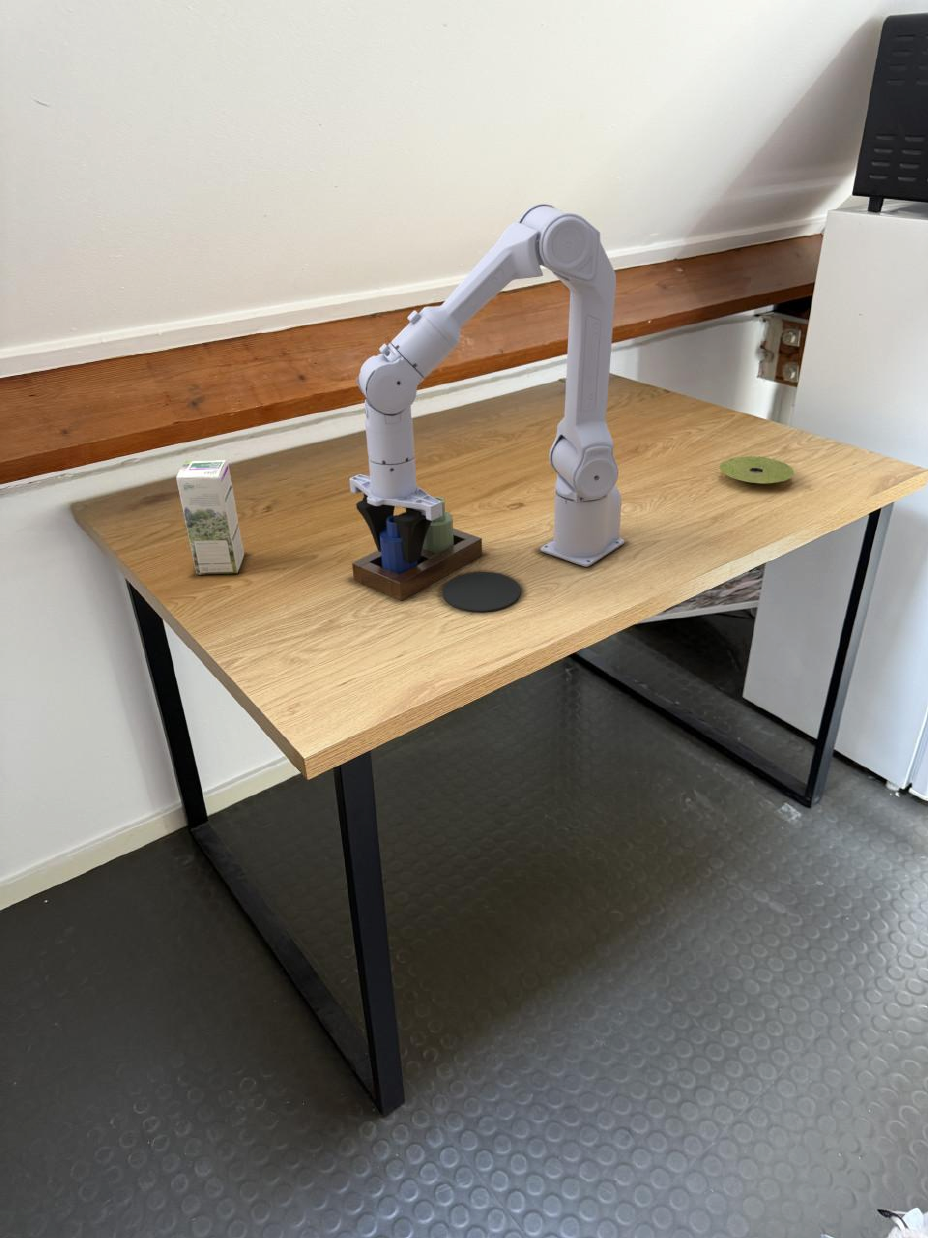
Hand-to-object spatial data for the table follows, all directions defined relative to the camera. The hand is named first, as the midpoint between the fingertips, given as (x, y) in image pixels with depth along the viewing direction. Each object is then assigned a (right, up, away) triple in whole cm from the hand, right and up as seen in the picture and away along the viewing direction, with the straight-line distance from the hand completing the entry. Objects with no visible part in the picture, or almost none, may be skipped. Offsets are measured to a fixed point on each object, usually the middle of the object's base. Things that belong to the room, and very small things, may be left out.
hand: (399, 554), depth 119 cm
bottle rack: (+2, -1, +4) cm, 5 cm away
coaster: (+11, -5, -2) cm, 12 cm away
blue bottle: (0, -3, +2) cm, 3 cm away
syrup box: (-25, -1, +6) cm, 26 cm away
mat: (+55, +14, +26) cm, 62 cm away
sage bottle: (+5, 0, +6) cm, 8 cm away
